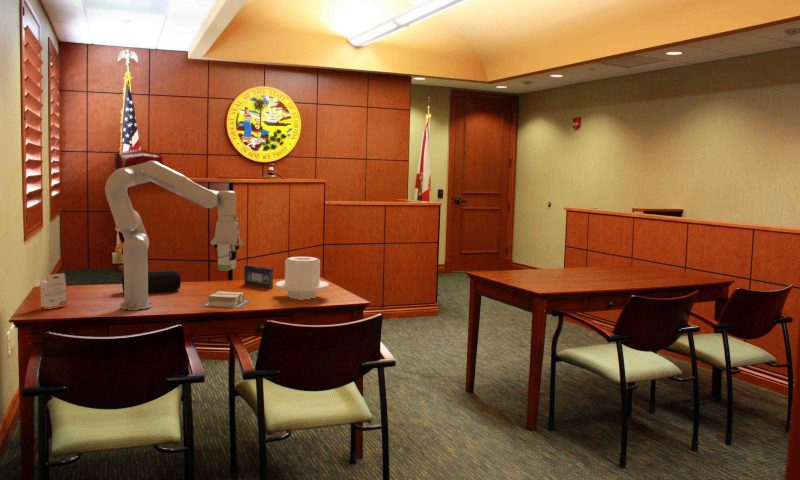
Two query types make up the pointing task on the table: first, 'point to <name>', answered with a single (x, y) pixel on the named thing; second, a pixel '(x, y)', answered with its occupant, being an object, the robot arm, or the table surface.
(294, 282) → the ribbed cylinder on disc
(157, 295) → the table surface
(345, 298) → the table surface
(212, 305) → the blueprint mat
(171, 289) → the portable speaker
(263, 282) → the vhs cassette tape
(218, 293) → the base block
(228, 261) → the ink box
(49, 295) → the ink cartridge box
